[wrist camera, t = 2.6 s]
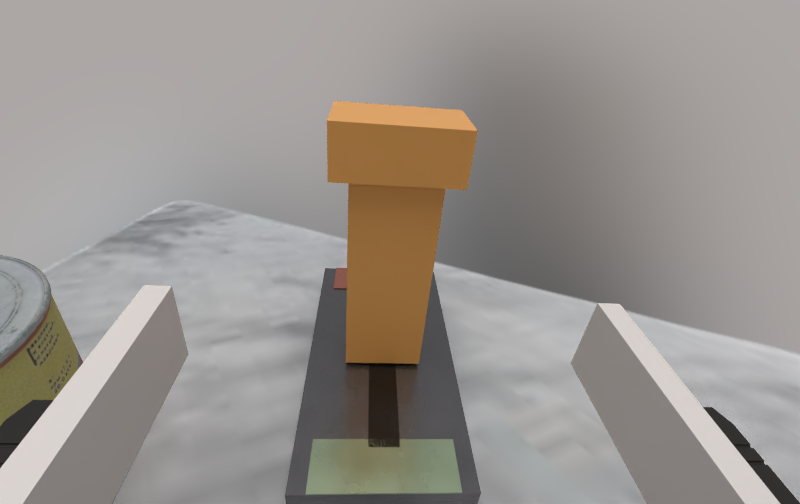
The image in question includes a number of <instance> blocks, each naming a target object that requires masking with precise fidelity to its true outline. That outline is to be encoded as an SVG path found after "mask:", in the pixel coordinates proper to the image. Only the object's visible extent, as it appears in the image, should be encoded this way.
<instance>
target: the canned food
mask: <svg viewBox="0 0 800 504" xmlns="http://www.w3.org/2000/svg"><path fill="white" fill-rule="evenodd" d="M82 364H83V361H82V359H81V357H80V355H79V353H78V351H77V348H76V346H75V344H74V342H73V340H72V338H71V336H70V333H69V331H68V329H67V327H66V325H65V323H64V321H63V318H62V316H61V314H60V312H59V310H58V308H57V306H56V303H55V301H54V299H53V297H52V295H51V288H50V284H49V282H48V280H47V278H46V276H45V275H44V274H43V273H42V272H41V270H39V269H38V268H36V267H35V266H34V265H32V264H30V263H28V262H25V261H22V260H20V259H16V258H11V257H8V256H2V255H0V426H1V425H2V423H3V422H4V421H5V420H6V419H7V418H9V417H10V416H11V415H13V414H14V413H15V412H17V411H18V410H20V409H21V408H22V407H24V406H25V405H26V404H28V403H29V402H30V401H32V400H54V399H55V398H56V397H57V395H58V394H59V393H60V392H61V390H62V389H63V388H64V386H65V385H66V384H67V383H68V381H69V380H70V379H71V378H72V376H73V375H74V374H75V372H76V371H77V370H78V369H79V367H80V366H81V365H82Z"/></svg>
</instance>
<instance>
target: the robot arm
mask: <svg viewBox="0 0 800 504" xmlns="http://www.w3.org/2000/svg"><path fill="white" fill-rule="evenodd" d="M187 356H188V351H187V346H186V342H185V338H184V334H183V330H182V326H181V322H180V318H179V314H178V310H177V306H176V301H175V297H174V293H173V289H172V286H154V285H144V286H143V287H142V288H141V290H140V291H139V292H138V293H137V295H136V296H135V297H134V298H133V300H132V301H131V302H130V304H129V305H128V306H127V307H126V309H125V310H124V311H123V313H122V314H121V315H120V316H119V318H118V319H117V320H116V321H115V323H114V324H113V325H112V327H111V328H110V329H109V330H108V332H107V333H106V334H105V335H104V337H103V338H102V339H101V341H100V342H99V343H98V344H97V346H96V347H95V348H94V349H93V351H92V352H91V353H90V355H89V356H88V357H87V358H86V360H85V361H84V362H83V364H82V365H81V366H80V367H79V369H78V370H77V371H76V372H75V374H74V375H73V376H72V378H71V379H70V380H69V381H68V383H67V384H66V385H65V386H64V388H63V389H62V390H61V392H60V393H59V394H58V395H57V397H56V398H55V399H54V400H32V401H30V402H29V403H28V404H26V405H25V406H24V407H22V408H21V409H20V410H18V411H17V412H15V413H14V414H13V415H11V416H10V417H9V418H7V419H6V420H5V421H4V422H3V423H2V425H1V426H0V504H112V503H113V501H114V499H115V497H116V495H117V493H118V491H119V489H120V487H121V485H122V483H123V481H124V479H125V477H126V475H127V473H128V471H129V469H130V467H131V465H132V463H133V461H134V460H135V458H136V456H137V454H138V452H139V450H140V448H141V446H142V444H143V442H144V440H145V438H146V436H147V434H148V432H149V430H150V428H151V426H152V424H153V422H154V420H155V418H156V416H157V414H158V412H159V411H160V409H161V407H162V405H163V403H164V401H165V399H166V397H167V395H168V393H169V391H170V389H171V387H172V385H173V383H174V381H175V379H176V377H177V375H178V373H179V371H180V369H181V367H182V365H183V363H184V362H185V360H186V358H187ZM571 364H572V366H573V368H574V370H575V372H576V374H577V376H578V377H579V379H580V381H581V383H582V385H583V387H584V388H585V390H586V392H587V394H588V396H589V398H590V400H591V401H592V403H593V405H594V407H595V409H596V411H597V412H598V414H599V416H600V418H601V420H602V422H603V423H604V425H605V427H606V429H607V431H608V433H609V435H610V436H611V438H612V440H613V442H614V444H615V446H616V447H617V449H618V451H619V453H620V455H621V457H622V459H623V460H624V462H625V464H626V466H627V468H628V470H629V471H630V473H631V475H632V477H633V479H634V481H635V483H636V484H637V486H638V488H639V490H640V492H641V494H642V495H643V497H644V499H645V501H646V503H647V504H800V503H799V502H798V500H797V499H796V498H795V497H794V496H793V494H792V493H791V492H790V491H789V490H788V489H787V487H786V486H785V485H784V484H783V483H782V481H781V480H780V479H779V478H778V477H777V475H776V474H775V473H774V472H773V471H772V470H771V468H770V467H769V466H768V465H765V464H764V460H763V459H762V458H761V457H760V455H759V454H758V453H757V452H756V451H755V449H754V448H751V447H750V443H749V442H748V441H747V440H746V439H745V438H744V436H743V435H742V434H741V433H740V432H739V430H738V429H737V428H736V427H735V426H734V425H733V424H732V423H731V422H730V421H728V420H727V419H726V418H725V417H723V416H722V415H721V414H720V413H718V412H717V411H716V410H715V409H713V408H712V407H702V406H701V404H700V403H699V402H698V401H697V399H696V398H695V397H694V396H693V394H692V393H691V392H690V391H689V389H688V388H687V387H686V386H685V384H684V383H683V382H682V381H681V379H680V378H679V377H678V376H677V374H676V373H675V372H674V371H673V370H672V368H671V367H670V366H669V365H668V363H667V362H666V361H665V360H664V358H663V357H662V356H661V355H660V353H659V352H658V351H657V350H656V348H655V347H654V346H653V345H652V343H651V342H650V341H649V340H648V338H647V337H646V336H645V335H644V333H643V332H642V331H641V330H640V328H639V327H638V326H637V325H636V324H635V322H634V321H633V320H632V319H631V317H630V316H629V315H628V314H627V312H626V311H625V310H624V309H623V307H622V306H621V305H620V304H604V303H598V304H597V306H596V308H595V310H594V313H593V315H592V317H591V319H590V322H589V324H588V326H587V328H586V330H585V333H584V335H583V337H582V339H581V342H580V344H579V346H578V348H577V351H576V353H575V355H574V357H573V359H572V362H571Z"/></svg>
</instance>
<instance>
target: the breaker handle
mask: <svg viewBox="0 0 800 504" xmlns="http://www.w3.org/2000/svg"><path fill="white" fill-rule="evenodd" d="M476 137H477V129H476V128H475V127H474V125H473V124H472V123H471V121H469V119H468V118H467V116H466V115H465V114H464V112H463V111H462V110H450V109H437V108H424V107H410V106H396V105H383V104H368V103H356V102H341V101H334V103H333V106H332V108H331V111H330V114H329V117H328V119H327V155H328V182H334V183H335V182H336V183H349V192H348V194H349V196H348V251H347V310H346V363H403V364H419V359H420V353H421V346H422V340H423V333H424V327H425V320H426V314H427V307H428V300H429V294H430V287H431V281H432V274H433V268H434V261H435V254H436V248H437V241H438V234H439V228H440V221H441V215H442V208H443V201H444V195H445V189H460V190H467V187H468V181H469V176H470V170H471V165H472V159H473V154H474V148H475V143H476Z"/></svg>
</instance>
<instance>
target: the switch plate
mask: <svg viewBox="0 0 800 504" xmlns="http://www.w3.org/2000/svg"><path fill="white" fill-rule="evenodd" d="M346 310H347V268H336V269H330V268H325V273H324V279H323V284H322V290H321V296H320V301H319V307H318V313H317V318H316V324H315V330H314V335H313V341H312V347H311V352H310V358H309V364H308V369H307V375H306V381H305V386H304V392H303V398H302V403H301V409H300V415H299V420H298V426H297V431H296V437H295V443H294V448H293V454H292V460H291V465H290V471H289V477H288V482H287V488H286V494H285V498H286V504H477V503H478V500H479V497H480V494H481V492H480V487H479V482H478V478H477V473H476V468H475V464H474V459H473V454H472V450H471V445H470V440H469V435H468V431H467V426H466V421H465V417H464V412H463V407H462V403H461V398H460V393H459V389H458V384H457V379H456V375H455V370H454V365H453V361H452V356H451V351H450V347H449V342H448V337H447V332H446V328H445V323H444V318H443V314H442V309H441V304H440V300H439V295H438V290H437V286H436V281H435V276H434V272H433V274H432V281H431V287H430V294H429V300H428V307H427V314H426V320H425V327H424V333H423V340H422V346H421V353H420V359H419V364H403V363H346Z"/></svg>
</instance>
